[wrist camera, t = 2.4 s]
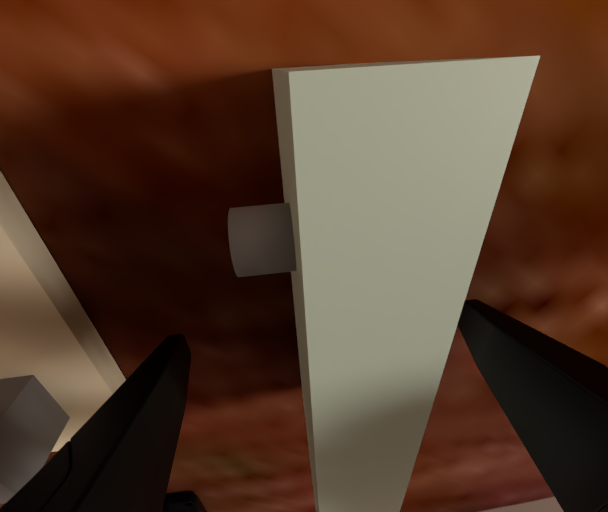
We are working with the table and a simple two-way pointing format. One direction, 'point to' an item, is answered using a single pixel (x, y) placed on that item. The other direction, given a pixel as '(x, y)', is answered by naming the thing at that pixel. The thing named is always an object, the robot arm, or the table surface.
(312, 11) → the table surface
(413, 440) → the door panel
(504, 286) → the table surface
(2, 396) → the hinge base
